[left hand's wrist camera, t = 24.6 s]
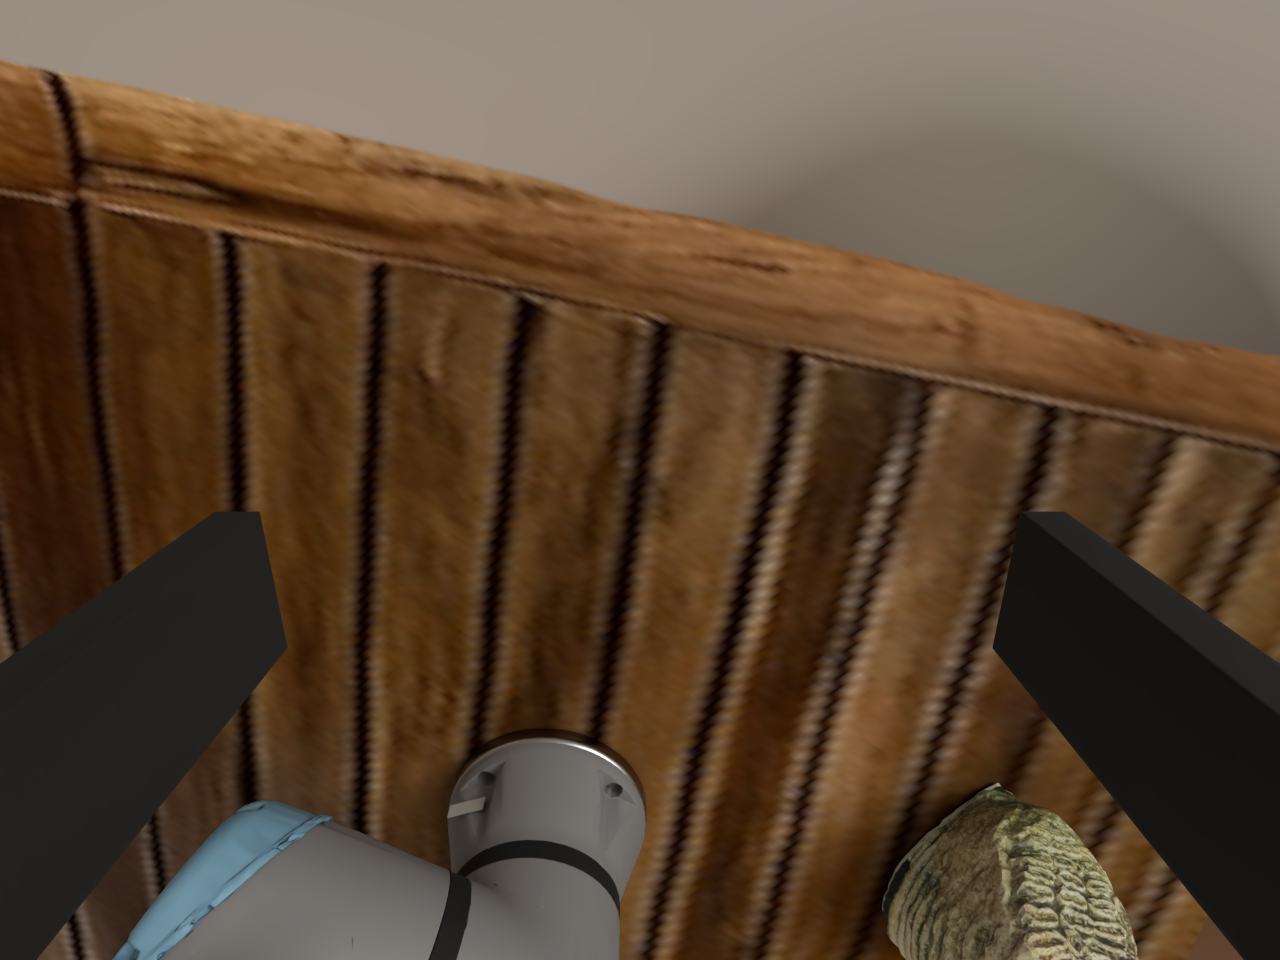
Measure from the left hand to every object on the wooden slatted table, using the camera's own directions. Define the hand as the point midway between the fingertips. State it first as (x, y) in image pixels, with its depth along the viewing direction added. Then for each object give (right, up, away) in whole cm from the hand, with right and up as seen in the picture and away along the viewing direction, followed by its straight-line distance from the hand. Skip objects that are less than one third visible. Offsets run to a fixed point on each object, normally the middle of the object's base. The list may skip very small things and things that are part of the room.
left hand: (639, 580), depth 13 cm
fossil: (+26, -28, +46) cm, 60 cm away
